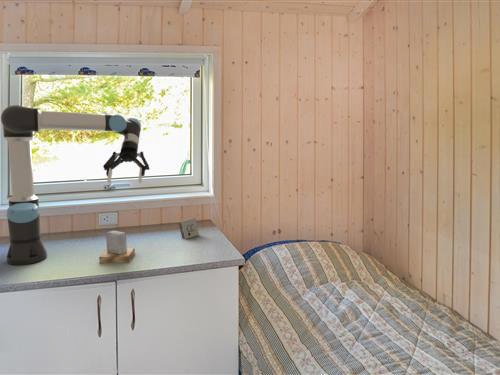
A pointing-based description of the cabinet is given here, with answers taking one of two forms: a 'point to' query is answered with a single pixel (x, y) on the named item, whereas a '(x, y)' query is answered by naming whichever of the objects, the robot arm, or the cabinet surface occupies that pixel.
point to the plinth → (116, 256)
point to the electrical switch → (189, 228)
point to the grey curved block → (116, 242)
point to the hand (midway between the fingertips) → (124, 181)
